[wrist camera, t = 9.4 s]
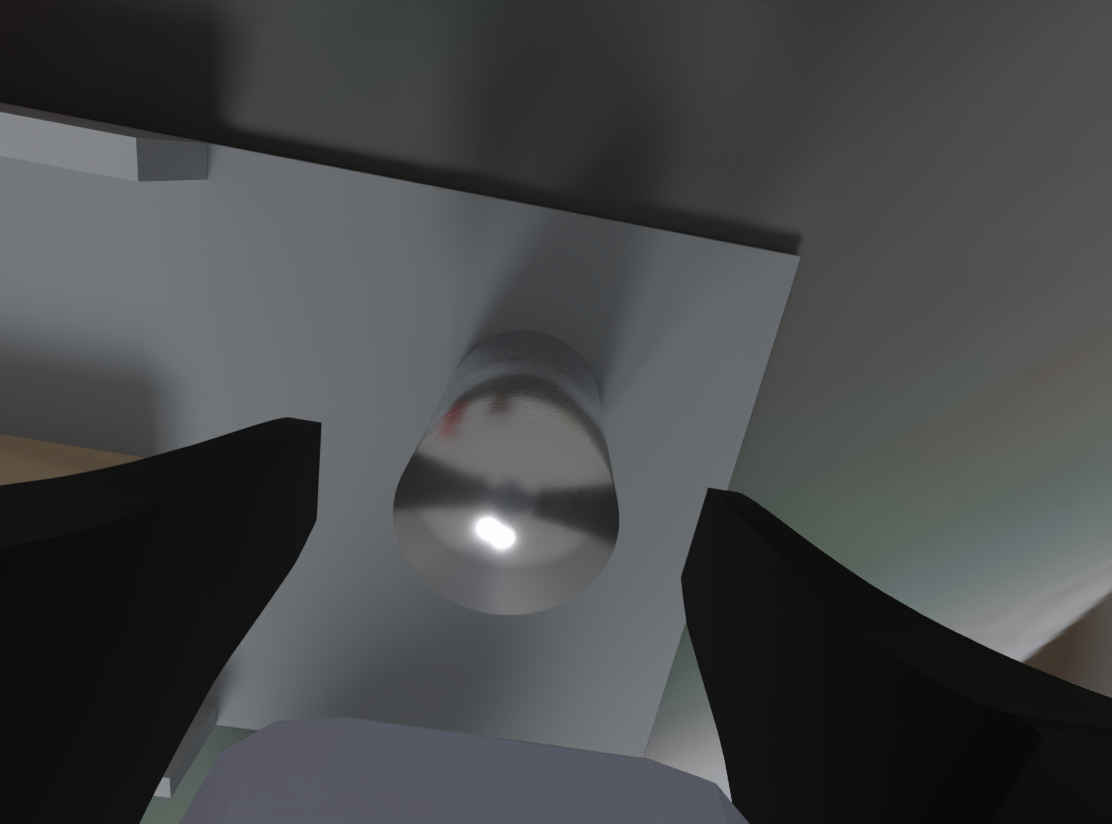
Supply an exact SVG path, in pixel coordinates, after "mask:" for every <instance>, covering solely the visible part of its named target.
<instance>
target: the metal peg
mask: <svg viewBox="0 0 1112 824" xmlns="http://www.w3.org/2000/svg"><path fill="white" fill-rule="evenodd" d="M393 522H394V530H395V534H396V537H397V541H398V544H399V546H400V549H401V551H402V553H403V555H404V557H405V558H406V560H407V562H408V563H409V565H410V567H411V568H412V569H413V570H414V572H415V573H416V574H417V575H418V576H419V577H420V578H421V579H422V580H423V581H424V582H425V583H426V584H427V585H428V586H429V587H430V588H432V589H433V590H434V591H436V592H437V593H438V594H440V595H442V596H443V597H445V598H447V599H448V600H450V601H452V602H454V603H457V604H459V605H461V606H463V607H466V608H469V609H472V610H476V611H480V612H485V613H490V614H499V615H521V614H529V613H535V612H539V611H544V610H547V609H550V608H553V607H555V606H558V605H560V604H562V603H564V602H566V601H568V600H570V599H572V598H573V597H575V596H576V595H578V594H580V593H581V592H582V591H583V590H585V589H586V588H587V587H588V586H589V585H591V584H592V583H593V581H594V580H595V579H596V578H597V577H598V576H599V575H600V574H601V572H602V571H603V569H604V568H605V566H606V565H607V563H608V561H609V559H610V557H611V555H612V553H613V551H614V548H615V545H616V542H617V537H618V531H619V507H618V500H617V495H616V489H615V483H614V477H613V472H612V466H611V460H610V455H609V449H608V443H607V437H606V432H605V426H604V420H603V415H602V409H601V403H600V398H599V392H598V387H597V384H596V380H595V378H594V376H593V373H592V371H591V370H590V368H589V366H588V365H587V363H586V362H585V361H584V359H583V358H582V357H581V356H580V355H579V354H578V353H577V352H576V351H575V350H574V349H573V348H571V347H570V346H569V345H567V344H566V343H564V342H562V341H561V340H559V339H557V338H555V337H552V336H549V335H547V334H543V333H539V332H532V331H513V332H506V333H502V334H499V335H496V336H493V337H491V338H489V339H487V340H485V341H483V342H481V343H480V344H478V345H477V346H476V347H474V348H473V349H472V350H471V351H470V352H469V353H468V354H467V355H466V356H465V357H464V358H463V360H462V361H461V363H460V364H459V365H458V367H457V369H456V371H455V373H454V375H453V377H452V379H451V381H450V383H449V385H448V387H447V389H446V390H445V392H444V394H443V396H442V398H441V400H440V402H439V404H438V406H437V408H436V410H435V412H434V414H433V416H432V418H431V420H430V422H429V423H428V425H427V427H426V429H425V431H424V433H423V435H422V437H421V439H420V441H419V443H418V445H417V447H416V449H415V451H414V453H413V454H412V456H411V458H410V460H409V462H408V464H407V466H406V468H405V470H404V472H403V474H402V476H401V478H400V480H399V483H398V486H397V489H396V492H395V498H394V503H393Z"/></svg>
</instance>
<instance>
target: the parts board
mask: <svg viewBox="0 0 1112 824" xmlns="http://www.w3.org/2000/svg"><path fill="white" fill-rule="evenodd" d="M800 258H801V257H800V256H797V255H794V254H788V253H783V252H778V251H773V250H767V249H762V248H757V247H752V246H747V245H741V244H736V243H731V242H726V241H720V240H715V239H710V238H705V237H700V236H694V235H689V234H684V233H679V232H674V231H668V230H663V229H658V228H653V227H647V226H642V225H637V224H632V223H627V222H621V221H616V220H611V219H606V218H601V217H595V216H590V215H585V214H580V213H574V212H569V211H564V210H559V209H554V208H548V207H543V206H538V205H533V204H528V203H522V202H517V201H512V200H507V199H501V198H496V197H491V196H486V195H481V194H475V193H470V192H465V191H460V190H454V189H449V188H444V187H439V186H434V185H428V184H423V183H418V182H413V181H408V180H402V179H397V178H392V177H387V176H381V175H376V174H371V173H366V172H361V171H355V170H350V169H345V168H340V167H335V166H329V165H324V164H319V163H314V162H308V161H303V160H298V159H293V158H288V157H282V156H277V155H272V154H267V153H262V152H256V151H251V150H246V149H241V148H235V147H230V146H225V145H220V144H215V143H209V142H204V141H199V140H194V139H189V138H183V137H178V136H173V135H168V134H162V133H157V132H152V131H147V130H142V129H136V128H131V127H126V126H121V125H115V124H110V123H105V122H100V121H95V120H89V119H84V118H79V117H74V116H69V115H63V114H58V113H53V112H48V111H42V110H37V109H32V108H27V107H22V106H16V105H11V104H6V103H1V102H0V434H2V435H8V436H14V437H20V438H27V439H33V440H39V441H45V442H51V443H58V444H64V445H70V446H76V447H82V448H89V449H95V450H101V451H107V452H113V453H120V454H126V455H132V456H138V457H144V458H148V457H151V456H155V455H158V454H162V453H165V452H169V451H173V450H176V449H180V448H183V447H187V446H190V445H194V444H197V443H200V442H203V441H206V440H210V439H213V438H216V437H219V436H222V435H225V434H228V433H231V432H235V431H238V430H241V429H244V428H247V427H250V426H253V425H257V424H260V423H263V422H267V421H270V420H274V419H279V418H285V417H291V418H297V419H303V420H309V421H315V422H321V423H322V428H321V448H320V468H319V487H318V507H317V521H316V523H315V525H314V527H313V529H312V531H311V533H310V535H309V537H308V540H307V542H306V544H305V546H304V548H303V550H302V552H301V554H300V555H299V557H298V559H297V561H296V563H295V565H294V566H293V568H292V569H291V571H290V572H289V574H288V575H287V577H286V578H285V580H284V581H283V583H282V584H281V585H280V587H279V588H278V590H277V591H276V593H275V594H274V596H273V597H272V599H271V600H270V601H269V603H268V604H267V606H266V607H265V609H264V610H263V611H262V613H261V614H260V616H259V617H258V619H257V620H256V621H255V623H254V624H253V626H252V627H251V629H250V630H249V631H248V633H247V634H246V636H245V637H244V639H243V640H242V641H241V643H240V644H239V646H238V647H237V649H236V650H235V651H234V653H233V654H232V656H231V657H230V659H229V660H228V661H227V663H226V665H225V666H224V668H223V669H222V671H221V672H220V674H219V676H218V677H217V679H216V680H215V682H214V683H213V685H212V687H211V689H210V690H209V692H208V694H207V696H206V698H205V700H204V701H203V703H202V705H201V707H200V709H199V710H198V712H197V714H196V716H195V718H194V720H193V721H192V723H191V725H190V727H189V729H188V730H187V732H186V734H185V736H184V738H183V739H182V741H181V743H180V745H179V747H178V749H177V751H176V753H175V755H174V757H173V759H172V761H171V762H170V764H169V766H168V768H167V770H166V772H165V774H164V776H163V778H162V780H161V782H160V784H159V786H158V787H157V789H156V791H155V793H154V795H153V796H161V797H168V798H171V797H172V795H173V793H174V792H175V790H176V788H177V787H178V785H179V784H180V782H181V780H182V779H183V777H184V776H185V774H186V772H187V771H188V769H189V767H190V766H191V764H192V763H193V761H194V759H195V758H196V756H197V754H198V753H199V751H200V750H201V748H202V746H203V745H204V743H205V742H206V740H207V738H208V737H209V735H210V733H211V732H212V730H213V729H214V727H215V725H222V726H229V727H236V728H244V729H251V730H260V729H262V728H264V727H265V726H267V725H269V724H270V723H272V722H277V721H285V720H301V719H319V718H336V717H355V718H362V719H369V720H377V721H384V722H391V723H398V724H405V725H412V726H419V727H426V728H433V729H441V730H448V731H455V732H462V733H469V734H476V735H483V736H490V737H497V738H505V739H512V740H519V741H526V742H533V743H540V744H547V745H554V746H561V747H569V748H576V749H583V750H590V751H597V752H604V753H611V754H618V755H625V756H633V757H640V758H643V755H644V752H645V749H646V746H647V743H648V740H649V736H650V733H651V730H652V727H653V724H654V721H655V717H656V714H657V711H658V708H659V705H660V702H661V698H662V695H663V692H664V689H665V686H666V683H667V679H668V676H669V673H670V670H671V667H672V664H673V660H674V657H675V654H676V651H677V648H678V645H679V641H680V638H681V635H682V632H683V629H684V626H685V622H686V616H685V609H684V602H683V594H682V585H681V575H682V572H683V568H684V565H685V562H686V558H687V555H688V552H689V549H690V545H691V542H692V539H693V535H694V532H695V529H696V526H697V522H698V519H699V516H700V512H701V509H702V506H703V503H704V499H705V496H706V493H707V489H708V487H709V488H715V489H721V490H726V491H727V489H728V486H729V483H730V480H731V477H732V474H733V470H734V467H735V464H736V461H737V458H738V455H739V451H740V448H741V445H742V442H743V439H744V435H745V432H746V429H747V426H748V423H749V420H750V416H751V413H752V410H753V407H754V404H755V401H756V397H757V394H758V391H759V388H760V385H761V382H762V378H763V375H764V372H765V369H766V366H767V363H768V359H769V356H770V353H771V350H772V347H773V344H774V340H775V337H776V334H777V331H778V328H779V325H780V321H781V318H782V315H783V312H784V309H785V306H786V302H787V299H788V296H789V293H790V290H791V287H792V283H793V280H794V277H795V274H796V271H797V268H798V264H799V261H800ZM513 331H532V332H539V333H543V334H547V335H549V336H552V337H555V338H557V339H559V340H561V341H562V342H564V343H566V344H567V345H569V346H570V347H571V348H573V349H574V350H575V351H576V352H577V353H578V354H579V355H580V356H581V357H582V358H583V359H584V361H585V362H586V363H587V365H588V366H589V368H590V370H591V371H592V373H593V376H594V378H595V380H596V384H597V387H598V392H599V398H600V403H601V409H602V415H603V420H604V426H605V432H606V437H607V443H608V449H609V455H610V460H611V466H612V472H613V477H614V483H615V489H616V495H617V500H618V507H619V531H618V537H617V542H616V545H615V548H614V551H613V553H612V555H611V557H610V559H609V561H608V563H607V565H606V566H605V568H604V569H603V571H602V572H601V574H600V575H599V576H598V577H597V578H596V579H595V580H594V581H593V583H592V584H591V585H589V586H588V587H587V588H586V589H585V590H583V591H582V592H581V593H580V594H578V595H576V596H575V597H573V598H572V599H570V600H568V601H566V602H564V603H562V604H560V605H558V606H555V607H553V608H550V609H547V610H544V611H539V612H535V613H529V614H521V615H499V614H490V613H485V612H480V611H476V610H472V609H469V608H466V607H463V606H461V605H459V604H457V603H454V602H452V601H450V600H448V599H447V598H445V597H443V596H442V595H440V594H438V593H437V592H436V591H434V590H433V589H432V588H430V587H429V586H428V585H427V584H426V583H425V582H424V581H423V580H422V579H421V578H420V577H419V576H418V575H417V574H416V573H415V572H414V570H413V569H412V568H411V567H410V565H409V563H408V562H407V560H406V558H405V557H404V555H403V553H402V551H401V549H400V546H399V544H398V541H397V537H396V534H395V530H394V522H393V503H394V498H395V492H396V489H397V486H398V483H399V480H400V478H401V476H402V474H403V472H404V470H405V468H406V466H407V464H408V462H409V460H410V458H411V456H412V454H413V453H414V451H415V449H416V447H417V445H418V443H419V441H420V439H421V437H422V435H423V433H424V431H425V429H426V427H427V425H428V423H429V422H430V420H431V418H432V416H433V414H434V412H435V410H436V408H437V406H438V404H439V402H440V400H441V398H442V396H443V394H444V392H445V390H446V389H447V387H448V385H449V383H450V381H451V379H452V377H453V375H454V373H455V371H456V369H457V367H458V365H459V364H460V363H461V361H462V360H463V358H464V357H465V356H466V355H467V354H468V353H469V352H470V351H471V350H472V349H473V348H474V347H476V346H477V345H478V344H480V343H481V342H483V341H485V340H487V339H489V338H491V337H493V336H496V335H499V334H502V333H506V332H513Z"/></svg>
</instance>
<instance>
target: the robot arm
mask: <svg viewBox="0 0 1112 824" xmlns="http://www.w3.org/2000/svg"><path fill="white" fill-rule="evenodd" d="M321 428H322V423H321V422H315V421H309V420H303V419H297V418H291V417H285V418H279V419H274V420H270V421H267V422H263V423H260V424H257V425H253V426H250V427H247V428H244V429H241V430H238V431H235V432H231V433H228V434H225V435H222V436H219V437H216V438H213V439H210V440H206V441H203V442H200V443H197V444H194V445H190V446H187V447H183V448H180V449H176V450H173V451H169V452H165V453H162V454H158V455H155V456H151V457H148V458H144V459H141V460H137V461H133V462H129V463H125V464H121V465H116V466H112V467H107V468H103V469H98V470H93V471H88V472H83V473H77V474H72V475H67V476H62V477H56V478H50V479H42V480H35V481H28V482H21V483H13V484H6V485H0V824H139V823H140V821H141V819H142V817H143V815H144V813H145V811H146V809H147V807H148V805H149V803H150V801H151V799H152V797H153V795H154V793H155V791H156V789H157V787H158V786H159V784H160V782H161V780H162V778H163V776H164V774H165V772H166V770H167V768H168V766H169V764H170V762H171V761H172V759H173V757H174V755H175V753H176V751H177V749H178V747H179V745H180V743H181V741H182V739H183V738H184V736H185V734H186V732H187V730H188V729H189V727H190V725H191V723H192V721H193V720H194V718H195V716H196V714H197V712H198V710H199V709H200V707H201V705H202V703H203V701H204V700H205V698H206V696H207V694H208V692H209V690H210V689H211V687H212V685H213V683H214V682H215V680H216V679H217V677H218V676H219V674H220V672H221V671H222V669H223V668H224V666H225V665H226V663H227V661H228V660H229V659H230V657H231V656H232V654H233V653H234V651H235V650H236V649H237V647H238V646H239V644H240V643H241V641H242V640H243V639H244V637H245V636H246V634H247V633H248V631H249V630H250V629H251V627H252V626H253V624H254V623H255V621H256V620H257V619H258V617H259V616H260V614H261V613H262V611H263V610H264V609H265V607H266V606H267V604H268V603H269V601H270V600H271V599H272V597H273V596H274V594H275V593H276V591H277V590H278V588H279V587H280V585H281V584H282V583H283V581H284V580H285V578H286V577H287V575H288V574H289V572H290V571H291V569H292V568H293V566H294V565H295V563H296V561H297V559H298V557H299V555H300V554H301V552H302V550H303V548H304V546H305V544H306V542H307V540H308V537H309V535H310V533H311V531H312V529H313V527H314V525H315V523H316V521H317V507H318V487H319V468H320V448H321ZM681 585H682V594H683V602H684V609H685V616H686V622H687V627H688V630H689V634H690V638H691V641H692V645H693V648H694V652H695V656H696V659H697V663H698V666H699V669H700V673H701V676H702V680H703V683H704V686H705V690H706V693H707V697H708V700H709V703H710V707H711V710H712V714H713V717H714V721H715V724H716V727H717V731H718V735H719V739H720V743H721V747H722V751H723V755H724V760H725V765H726V771H727V776H728V782H729V787H730V793H731V799H732V802H731V801H730V800H729V799H728V798H727V796H726V795H725V794H724V793H723V791H722V790H721V789H720V788H719V787H718V785H717V784H716V783H713V782H711V781H708V780H706V779H703V778H700V777H697V776H695V775H692V774H689V773H686V772H684V771H681V770H678V769H675V768H673V767H670V766H667V765H664V764H661V763H659V762H656V761H653V760H650V759H647V758H640V757H633V756H625V755H618V754H611V753H604V752H597V751H590V750H583V749H576V748H569V747H561V746H554V745H547V744H540V743H533V742H526V741H519V740H512V739H505V738H497V737H490V736H483V735H476V734H469V733H462V732H455V731H448V730H441V729H433V728H426V727H419V726H412V725H405V724H398V723H391V722H384V721H377V720H369V719H362V718H355V717H336V718H319V719H301V720H285V721H277V722H272V723H270V724H269V725H267V726H265V727H264V728H262V729H260V730H258V731H257V732H255V733H253V734H252V735H250V736H248V737H246V738H245V739H243V740H241V741H240V742H238V743H236V744H234V745H233V746H231V747H229V748H227V749H226V750H224V751H222V752H221V753H220V754H219V756H218V758H217V759H216V761H215V763H214V765H213V766H212V768H211V770H210V772H209V773H208V775H207V777H206V778H205V780H204V782H203V784H202V785H201V787H200V789H199V791H198V792H197V794H196V796H195V797H194V799H193V801H192V803H191V804H190V806H189V808H188V809H187V811H186V813H185V815H184V816H183V818H182V820H181V822H180V823H179V824H1112V698H1110V697H1107V696H1104V695H1102V694H1099V693H1096V692H1093V691H1090V690H1088V689H1085V688H1082V687H1080V686H1077V685H1075V684H1072V683H1070V682H1067V681H1065V680H1062V679H1060V678H1057V677H1055V676H1053V675H1050V674H1047V673H1045V672H1043V671H1040V670H1038V669H1035V668H1033V667H1030V666H1028V665H1025V664H1023V663H1021V662H1019V661H1017V660H1014V659H1012V658H1010V657H1007V656H1005V655H1003V654H1001V653H998V652H996V651H994V650H992V649H990V648H988V647H985V646H983V645H981V644H979V643H977V642H975V641H973V640H971V639H969V638H967V637H965V636H963V635H961V634H959V633H957V632H955V631H953V630H951V629H949V628H947V627H945V626H943V625H941V624H939V623H937V622H935V621H933V620H931V619H929V618H928V617H926V616H924V615H922V614H920V613H918V612H917V611H915V610H913V609H912V608H910V607H908V606H906V605H905V604H903V603H901V602H899V601H898V600H896V599H894V598H892V597H891V596H889V595H887V594H886V593H884V592H882V591H881V590H879V589H877V588H876V587H874V586H873V585H871V584H869V583H868V582H866V581H865V580H863V579H862V578H860V577H859V576H857V575H856V574H854V573H853V572H851V571H850V570H848V569H847V568H846V567H844V566H843V565H841V564H840V563H838V562H837V561H835V560H834V559H832V558H831V557H830V556H828V555H827V554H825V553H824V552H823V551H821V550H820V549H818V548H817V547H816V546H814V545H813V544H812V543H810V542H809V541H808V540H806V539H805V538H804V537H802V536H801V535H800V534H798V533H797V532H796V531H794V530H793V529H792V528H790V527H789V526H788V525H786V524H785V523H784V522H782V521H781V520H780V519H778V518H777V517H776V516H774V515H773V514H772V513H770V512H769V511H768V510H766V509H765V508H763V507H762V506H761V505H759V504H758V503H756V502H755V501H753V500H752V499H750V498H749V497H747V496H745V495H743V494H741V493H738V492H732V491H726V490H721V489H715V488H709V487H708V489H707V493H706V496H705V499H704V503H703V506H702V509H701V512H700V516H699V519H698V522H697V526H696V529H695V532H694V535H693V539H692V542H691V545H690V549H689V552H688V555H687V558H686V562H685V565H684V568H683V572H682V575H681Z"/></svg>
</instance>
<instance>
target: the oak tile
mask: <svg viewBox="0 0 1112 824" xmlns="http://www.w3.org/2000/svg"><path fill="white" fill-rule="evenodd" d="M141 459H144V457H138V456H132V455H126V454H120V453H113V452H107V451H101V450H95V449H89V448H82V447H76V446H70V445H64V444H58V443H51V442H45V441H39V440H33V439H27V438H20V437H14V436H8V435H2V434H0V485H6V484H13V483H21V482H28V481H35V480H42V479H50V478H56V477H62V476H67V475H72V474H77V473H83V472H88V471H93V470H98V469H103V468H107V467H112V466H116V465H121V464H125V463H129V462H133V461H137V460H141Z"/></svg>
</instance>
